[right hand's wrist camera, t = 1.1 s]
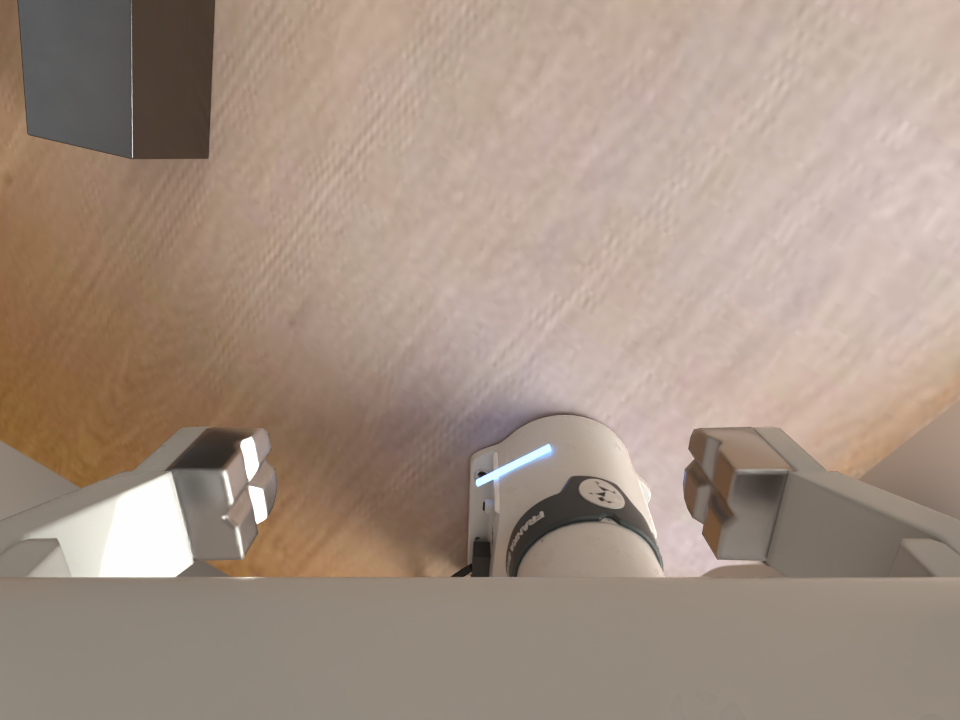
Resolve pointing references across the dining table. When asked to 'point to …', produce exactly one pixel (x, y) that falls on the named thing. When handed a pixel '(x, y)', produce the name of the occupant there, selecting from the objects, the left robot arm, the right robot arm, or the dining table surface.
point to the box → (119, 75)
